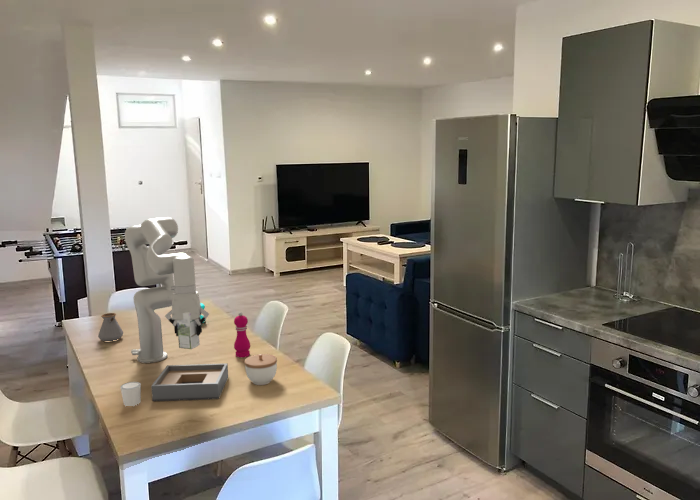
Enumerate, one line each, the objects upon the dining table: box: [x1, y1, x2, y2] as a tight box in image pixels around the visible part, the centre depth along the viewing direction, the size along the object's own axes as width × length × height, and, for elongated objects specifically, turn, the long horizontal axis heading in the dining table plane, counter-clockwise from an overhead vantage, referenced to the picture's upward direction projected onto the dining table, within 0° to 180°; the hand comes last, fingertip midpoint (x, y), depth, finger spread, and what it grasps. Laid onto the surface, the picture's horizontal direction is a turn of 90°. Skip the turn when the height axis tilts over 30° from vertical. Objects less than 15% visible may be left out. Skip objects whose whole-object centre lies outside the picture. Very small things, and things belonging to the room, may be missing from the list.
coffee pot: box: [97, 312, 124, 342], centre depth 264 cm, size 21×12×15 cm, turn 30°
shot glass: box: [120, 381, 142, 407], centre depth 198 cm, size 7×7×7 cm
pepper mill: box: [233, 311, 251, 359], centre depth 243 cm, size 7×7×20 cm
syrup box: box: [177, 312, 201, 350], centre depth 206 cm, size 6×6×14 cm
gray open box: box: [150, 363, 229, 402], centre depth 209 cm, size 24×20×6 cm
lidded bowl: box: [244, 353, 278, 386], centre depth 215 cm, size 13×13×11 cm
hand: (188, 334), depth 206 cm, fingers closed on syrup box, 7 cm apart
